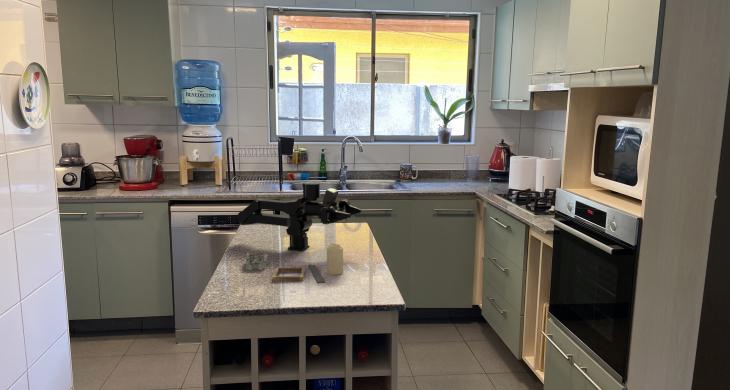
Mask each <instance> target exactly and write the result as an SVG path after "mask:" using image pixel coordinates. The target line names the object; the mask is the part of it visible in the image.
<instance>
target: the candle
mask: <svg viewBox="0 0 730 390" xmlns="http://www.w3.org/2000/svg"><path fill="white" fill-rule="evenodd" d="M326 273H327V274H328V275H332V276H337V275H342V274H343V273H344V248H343V246H341V244H336V243H330V244H329V245H328V247H327V248H326Z"/></svg>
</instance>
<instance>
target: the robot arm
mask: <svg viewBox="0 0 730 390" xmlns="http://www.w3.org/2000/svg"><path fill="white" fill-rule="evenodd" d="M301 185H302V197H299V198H297V199H292V200H278V199H267V198H263V197H261V198H256V199H254V200H252V201H251V203H250V204H249V205H247V206H246V207H245V208H244V209H243V210H240V211H239V212H238V213H237V221H238V222H239V224H240V225H241V226H248V225H257V224H262V225H271V226H277V227H286V229H285V231H286V234H287V235H288V236H289V247H287V250H292V251H301V252H302V251H304V250H305V249H308V248H310V245H309V237H308V233H307V232H310V229H311V227H312V226H313V219H312V217H315V218H318V219H319V220H320V222H321V224H322V225H329V224H334V223H337V222H339V221H343V220H346V219H349V218H351V216H353V215H356V214H360V213H362V209H361V208H359V207H356V206H353V205H352V204H351V203H350V200H349V199H345V198H344V199H342V200H340V201H339V202H337V201H336V199H337V197H338V194H339V191H338V190H337V188H332V187H331V188H327V189H326V190H325V192H324V195H323V199H322V202H321V201H318V199H320V198H321V182H318V181H313V182H304V183H302V184H301ZM337 205H338V206H337ZM263 210H267V211H276V212H283V213H284V214H286V215H282V214H275V213H274V214H273V213H265V212H263Z"/></svg>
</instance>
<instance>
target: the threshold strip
mask: <svg viewBox="0 0 730 390" xmlns="http://www.w3.org/2000/svg"><path fill="white" fill-rule="evenodd" d="M308 268H309V269H310V271H311V273H312V275H313V277H314V279H315V280H316V283H317V284H321V283H323V284H324V283H326V280H325V278H324V277H323V275H322V273H321V272H320V270H319V268H318V267H317V265H316V264H308Z"/></svg>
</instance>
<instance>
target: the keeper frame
mask: <svg viewBox="0 0 730 390" xmlns="http://www.w3.org/2000/svg"><path fill="white" fill-rule="evenodd" d="M279 273H280V274H281V273H300V275H279ZM278 275H279V276H278ZM305 275H306V266H301V267H300V266H291V267H290V266H286V267H284V266H281V267H279V266H278V267H275V269H274V272H273V274H272V276H271V281H272V282H276V283H277V282H280V283H281V282H285V283H286V282H304V279H305Z"/></svg>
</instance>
